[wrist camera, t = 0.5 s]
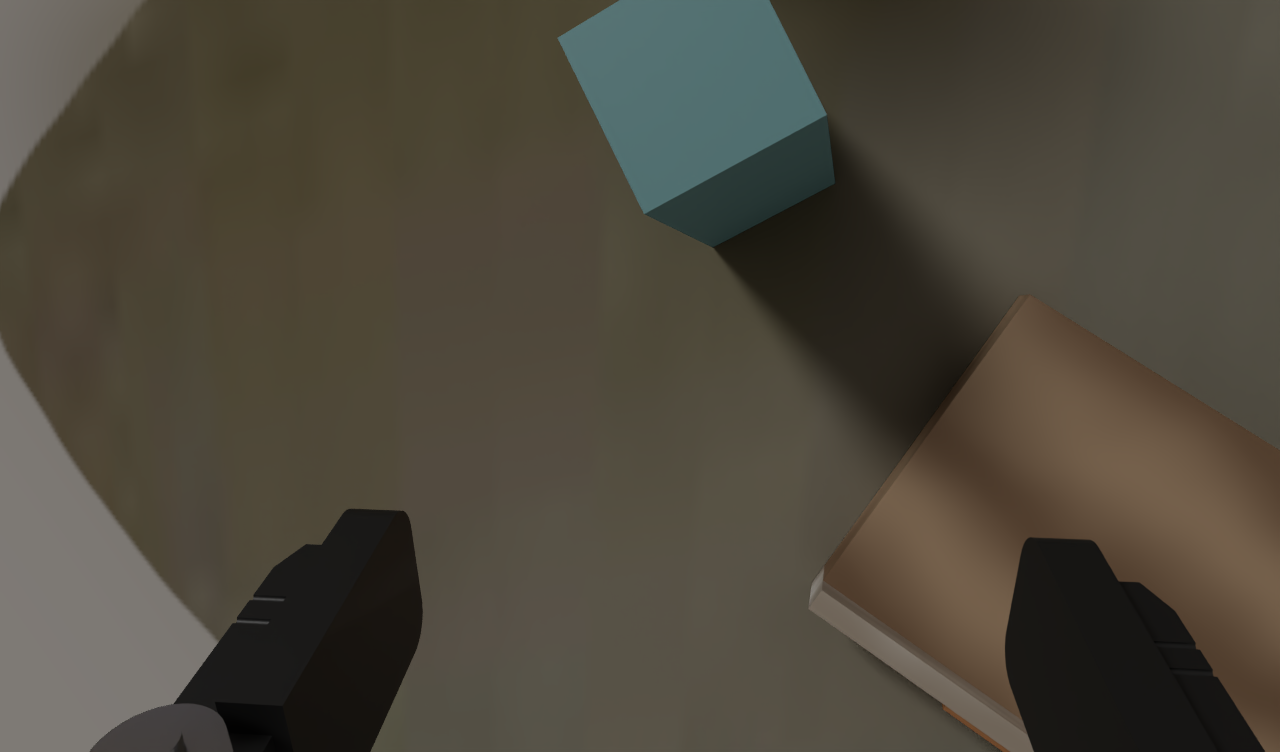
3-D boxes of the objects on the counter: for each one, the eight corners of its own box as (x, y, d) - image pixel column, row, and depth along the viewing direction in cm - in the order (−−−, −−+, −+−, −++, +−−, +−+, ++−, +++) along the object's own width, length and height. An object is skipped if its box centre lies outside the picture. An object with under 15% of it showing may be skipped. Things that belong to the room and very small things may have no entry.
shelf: (1019, 295, 33) (1036, 293, 30) (1448, 564, 31) (1516, 592, 27) (809, 586, 35) (805, 613, 32) (1193, 857, 33) (1229, 914, 30)
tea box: (774, 61, 34) (734, -70, 23) (835, 183, 34) (826, 114, 22) (653, 130, 35) (555, 39, 24) (711, 248, 35) (641, 215, 24)
